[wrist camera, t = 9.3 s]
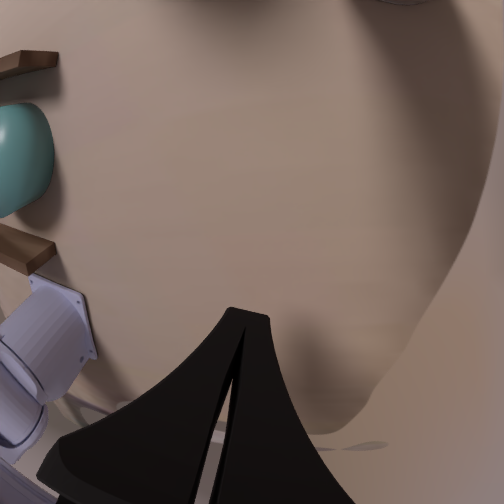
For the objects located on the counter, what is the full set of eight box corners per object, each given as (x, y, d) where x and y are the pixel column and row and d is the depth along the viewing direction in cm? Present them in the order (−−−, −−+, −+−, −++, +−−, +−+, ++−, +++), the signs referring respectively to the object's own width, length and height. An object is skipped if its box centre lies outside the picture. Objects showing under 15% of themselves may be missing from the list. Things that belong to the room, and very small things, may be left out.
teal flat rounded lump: (62, 198, 19) (28, 217, 16) (8, 203, 20) (-20, 218, 17) (51, 90, 15) (14, 93, 11) (-4, 116, 16) (-34, 124, 13)
